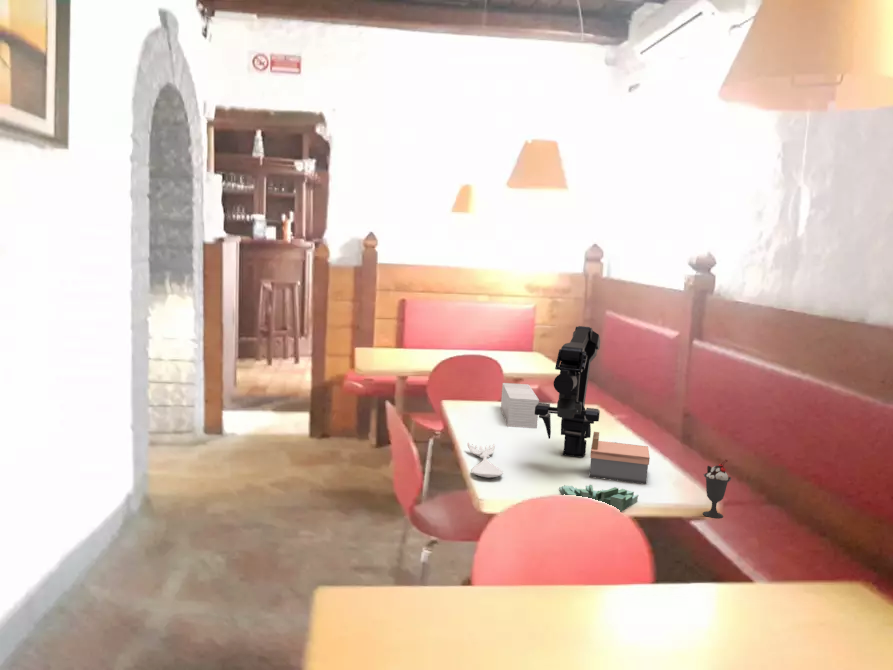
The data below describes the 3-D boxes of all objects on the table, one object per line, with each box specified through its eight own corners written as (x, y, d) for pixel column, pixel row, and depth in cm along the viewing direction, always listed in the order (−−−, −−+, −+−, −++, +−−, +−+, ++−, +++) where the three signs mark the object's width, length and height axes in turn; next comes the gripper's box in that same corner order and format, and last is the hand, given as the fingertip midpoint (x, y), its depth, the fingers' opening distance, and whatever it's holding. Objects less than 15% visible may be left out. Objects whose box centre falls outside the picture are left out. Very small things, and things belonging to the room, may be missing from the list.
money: (569, 511, 196) (570, 492, 195) (558, 491, 212) (559, 473, 211) (648, 515, 196) (649, 496, 196) (631, 495, 213) (633, 477, 212)
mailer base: (589, 476, 226) (591, 453, 225) (590, 466, 237) (592, 443, 236) (646, 484, 222) (648, 460, 221) (645, 472, 234) (647, 450, 233)
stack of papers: (500, 409, 316) (502, 382, 314) (526, 410, 316) (529, 384, 315) (507, 427, 284) (509, 398, 283) (536, 429, 284) (539, 399, 283)
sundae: (729, 521, 195) (735, 462, 193) (701, 517, 196) (707, 459, 194) (725, 512, 201) (731, 456, 199) (698, 509, 202) (703, 453, 201)
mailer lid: (590, 457, 224) (591, 440, 223) (592, 446, 238) (593, 429, 237) (648, 464, 221) (650, 446, 220) (647, 452, 234) (649, 436, 234)
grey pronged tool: (494, 453, 246) (495, 442, 246) (504, 483, 215) (505, 471, 214) (466, 451, 246) (466, 440, 246) (471, 482, 214) (472, 469, 214)
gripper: (534, 389, 225) (530, 442, 226) (600, 396, 221) (595, 450, 222) (538, 383, 235) (534, 434, 237) (601, 390, 231) (597, 441, 233)
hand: (564, 440), depth 232 cm, fingers open, 9 cm apart
